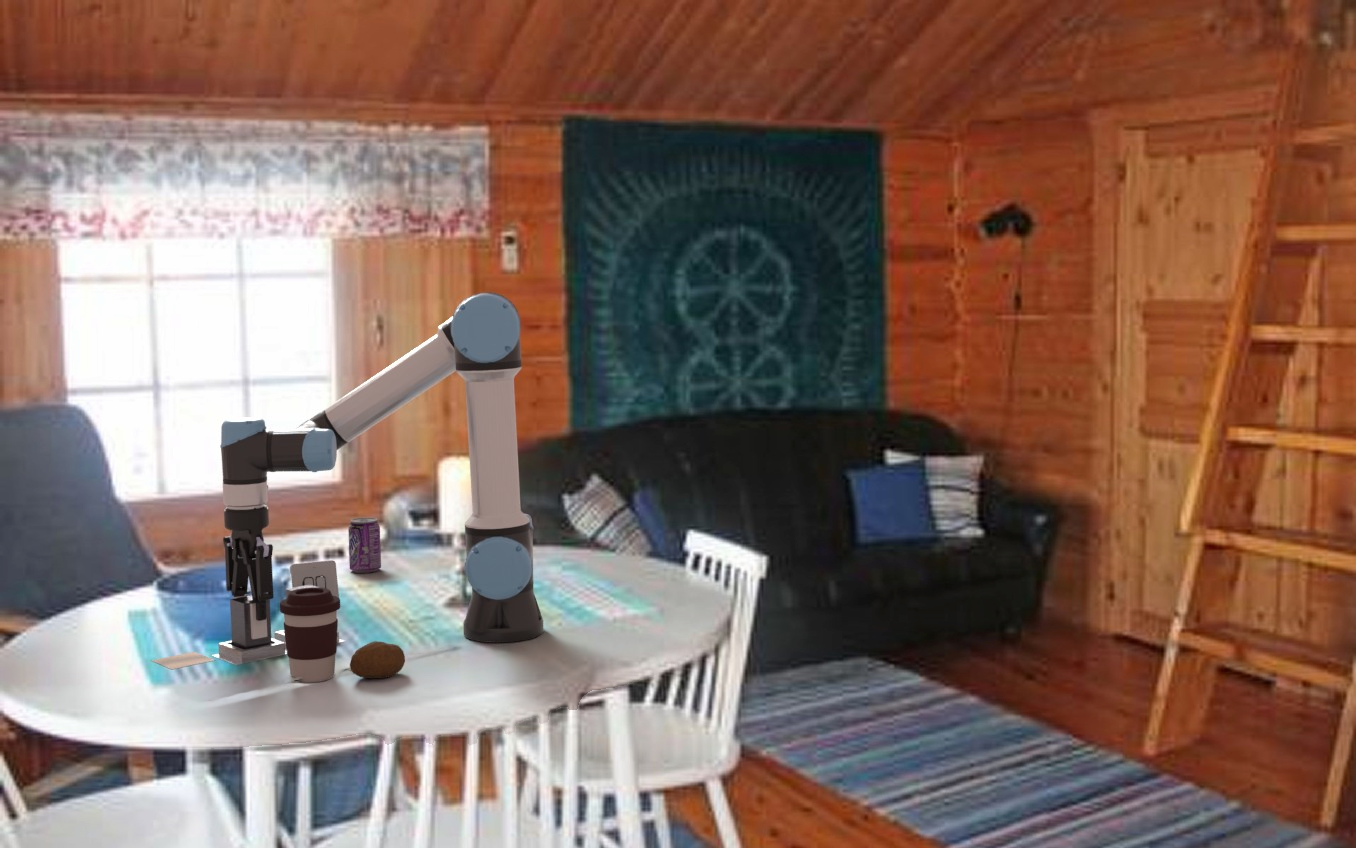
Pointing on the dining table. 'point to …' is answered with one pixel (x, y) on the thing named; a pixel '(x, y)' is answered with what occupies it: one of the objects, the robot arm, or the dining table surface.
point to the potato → (377, 660)
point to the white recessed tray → (255, 650)
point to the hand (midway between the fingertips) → (251, 634)
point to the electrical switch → (315, 575)
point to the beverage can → (364, 545)
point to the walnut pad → (183, 660)
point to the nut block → (246, 624)
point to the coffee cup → (311, 633)
